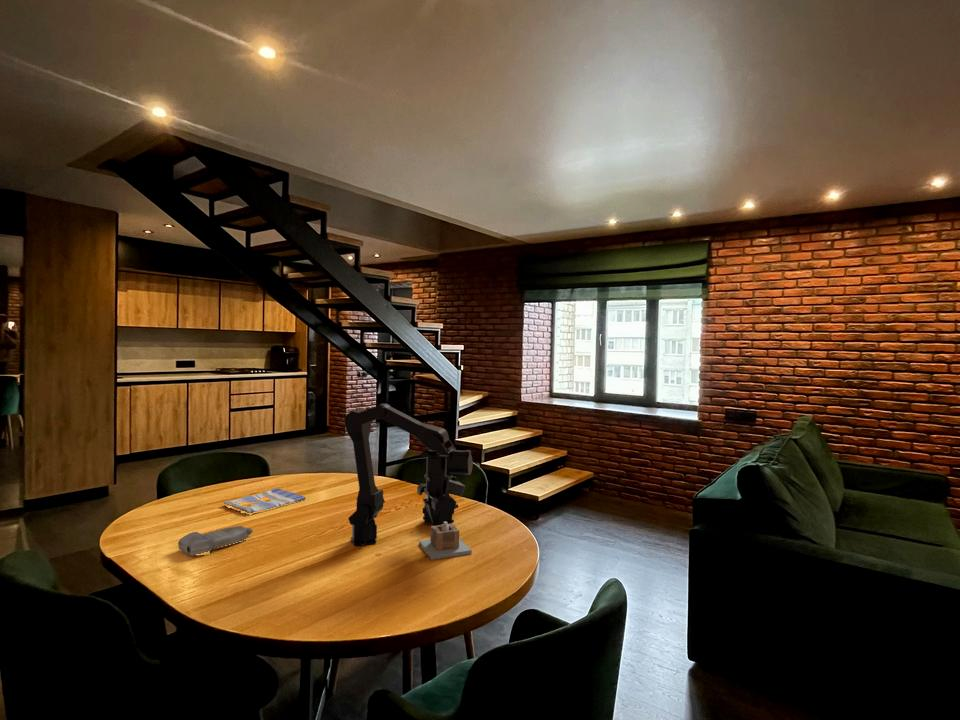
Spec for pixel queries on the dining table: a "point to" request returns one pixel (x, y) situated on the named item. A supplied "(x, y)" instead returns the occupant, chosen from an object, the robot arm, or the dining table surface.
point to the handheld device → (212, 539)
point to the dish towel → (276, 497)
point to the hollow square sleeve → (444, 537)
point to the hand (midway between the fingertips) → (435, 525)
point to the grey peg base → (436, 554)
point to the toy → (445, 516)
